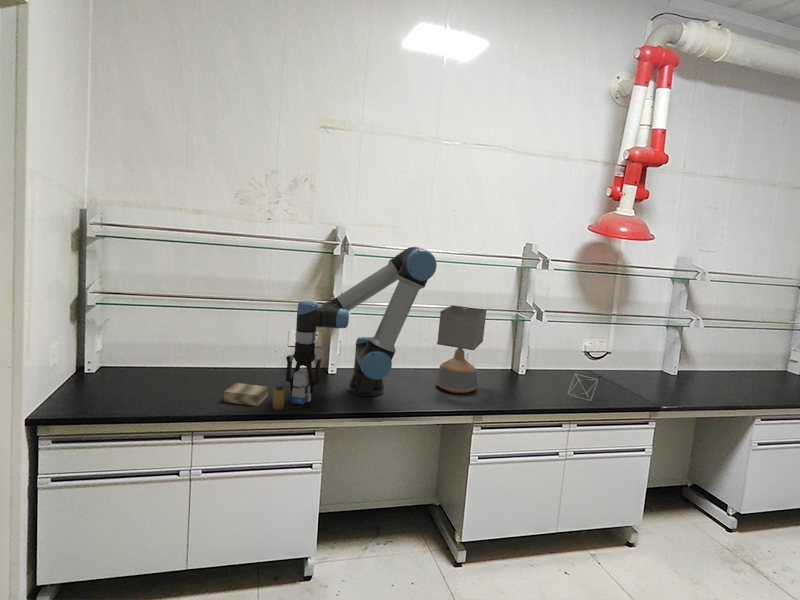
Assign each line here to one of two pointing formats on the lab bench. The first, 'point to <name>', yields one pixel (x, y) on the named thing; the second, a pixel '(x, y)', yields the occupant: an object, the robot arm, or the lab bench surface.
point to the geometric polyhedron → (582, 386)
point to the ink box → (300, 386)
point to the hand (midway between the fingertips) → (301, 399)
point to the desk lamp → (460, 346)
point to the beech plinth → (246, 394)
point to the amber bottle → (278, 397)
